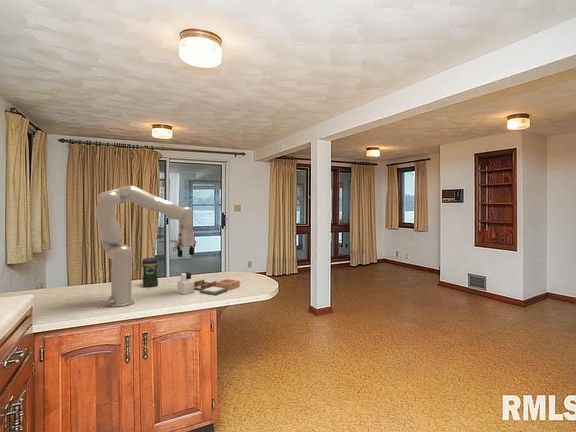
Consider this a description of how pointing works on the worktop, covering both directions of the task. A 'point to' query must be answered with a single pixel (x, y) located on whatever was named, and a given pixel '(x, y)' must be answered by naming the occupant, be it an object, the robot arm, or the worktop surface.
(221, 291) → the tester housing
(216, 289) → the tester pad
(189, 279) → the medicine bottle
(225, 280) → the reddish brown square tray
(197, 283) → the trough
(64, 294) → the worktop surface
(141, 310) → the worktop surface
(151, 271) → the coffee jar
